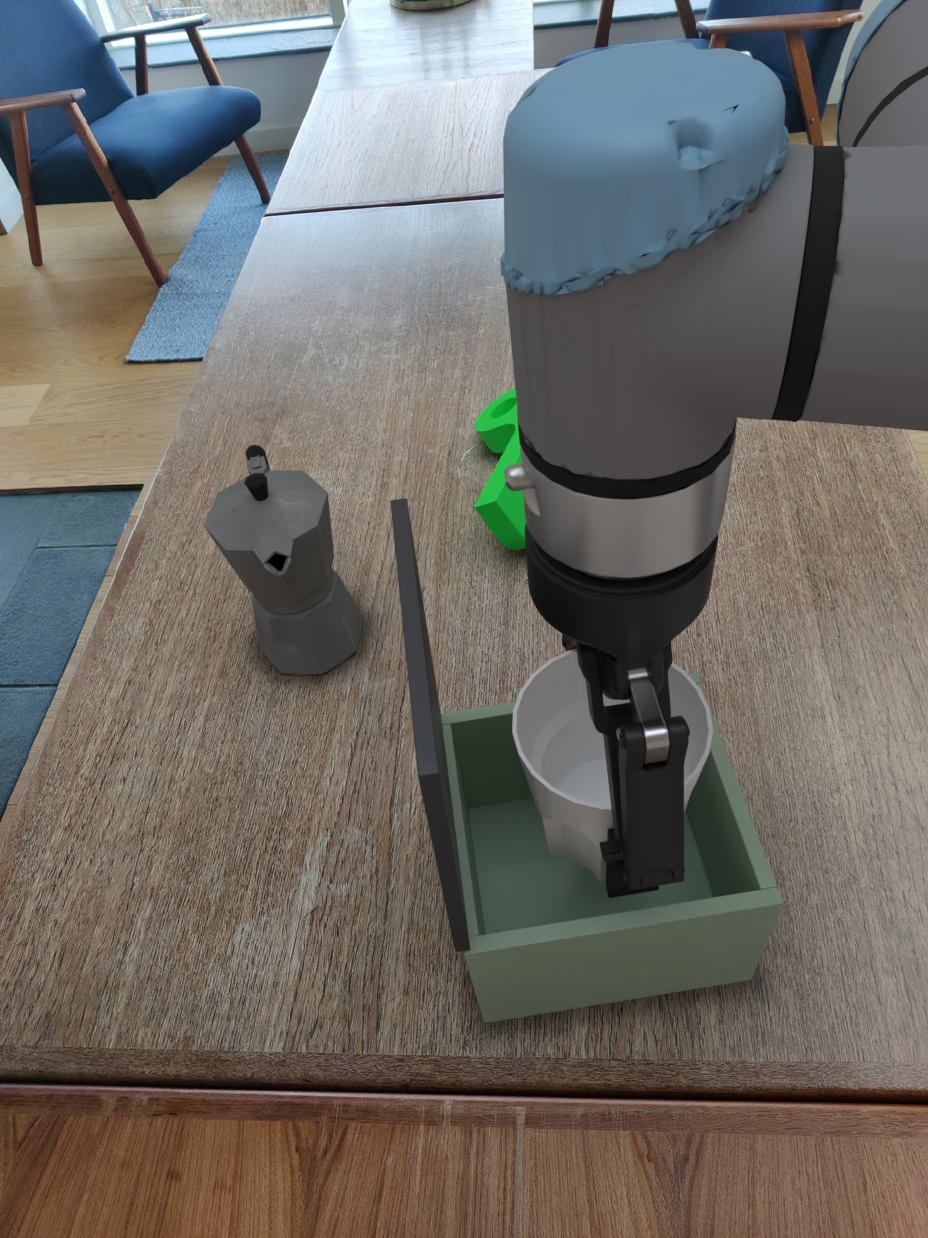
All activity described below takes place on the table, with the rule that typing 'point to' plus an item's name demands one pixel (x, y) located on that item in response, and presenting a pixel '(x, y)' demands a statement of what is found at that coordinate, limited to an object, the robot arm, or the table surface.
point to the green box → (596, 889)
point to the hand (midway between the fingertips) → (609, 799)
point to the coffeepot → (287, 566)
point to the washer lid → (428, 727)
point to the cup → (587, 754)
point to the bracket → (502, 472)
